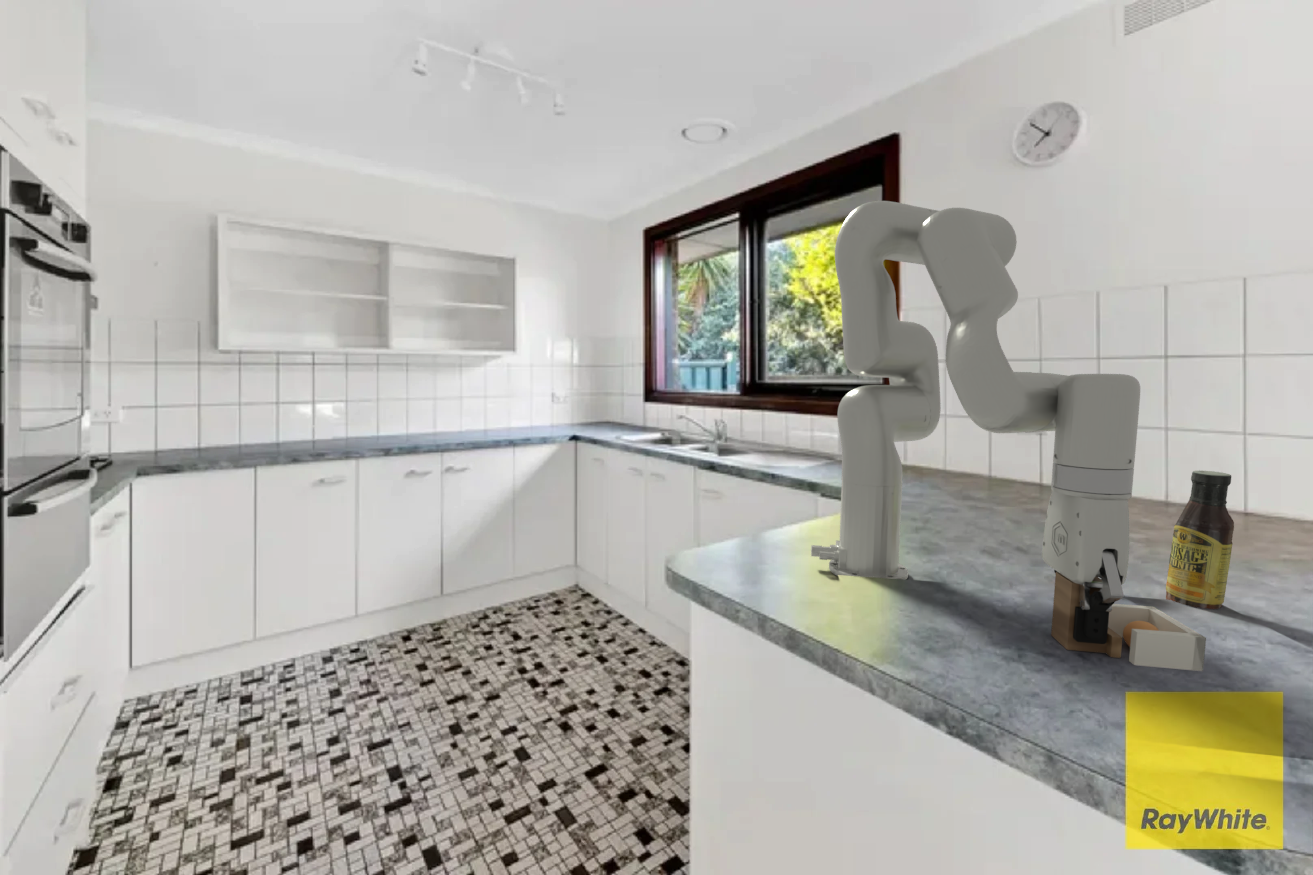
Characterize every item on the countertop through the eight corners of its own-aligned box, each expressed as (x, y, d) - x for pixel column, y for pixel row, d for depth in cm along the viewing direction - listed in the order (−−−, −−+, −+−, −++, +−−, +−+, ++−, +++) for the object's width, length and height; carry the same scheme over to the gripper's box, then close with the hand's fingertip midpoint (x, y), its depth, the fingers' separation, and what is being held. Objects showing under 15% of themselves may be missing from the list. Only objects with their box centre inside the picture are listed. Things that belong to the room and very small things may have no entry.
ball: (1158, 622, 66) (1177, 648, 66) (1138, 610, 70) (1157, 635, 70) (1127, 638, 67) (1146, 664, 67) (1109, 625, 70) (1128, 650, 70)
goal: (1134, 667, 65) (1137, 632, 64) (1091, 633, 73) (1093, 602, 73) (1202, 673, 63) (1206, 637, 63) (1150, 637, 72) (1153, 606, 72)
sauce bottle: (1153, 600, 88) (1165, 468, 86) (1191, 599, 88) (1204, 468, 86) (1197, 617, 81) (1210, 475, 79) (1238, 616, 82) (1253, 475, 80)
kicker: (1071, 653, 67) (1076, 585, 66) (1047, 631, 73) (1051, 569, 72) (1120, 657, 66) (1126, 589, 65) (1092, 635, 72) (1097, 572, 71)
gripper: (1025, 469, 77) (1015, 604, 78) (1092, 492, 60) (1079, 663, 62) (1089, 471, 75) (1078, 609, 77) (1176, 496, 59) (1160, 670, 61)
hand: (1079, 631), depth 70 cm, fingers closed on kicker, 4 cm apart
